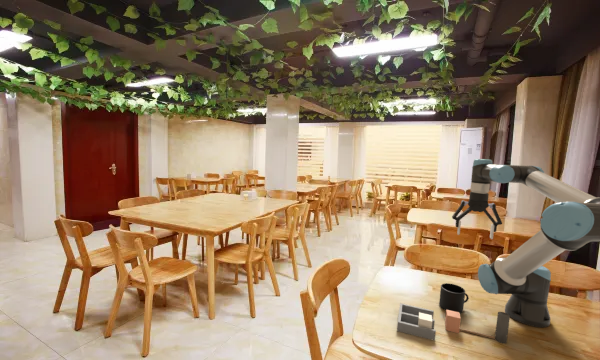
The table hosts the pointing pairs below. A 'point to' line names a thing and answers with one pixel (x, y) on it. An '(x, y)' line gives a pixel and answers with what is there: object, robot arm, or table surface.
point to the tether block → (500, 335)
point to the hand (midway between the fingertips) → (474, 236)
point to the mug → (452, 297)
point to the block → (425, 320)
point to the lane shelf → (414, 321)
